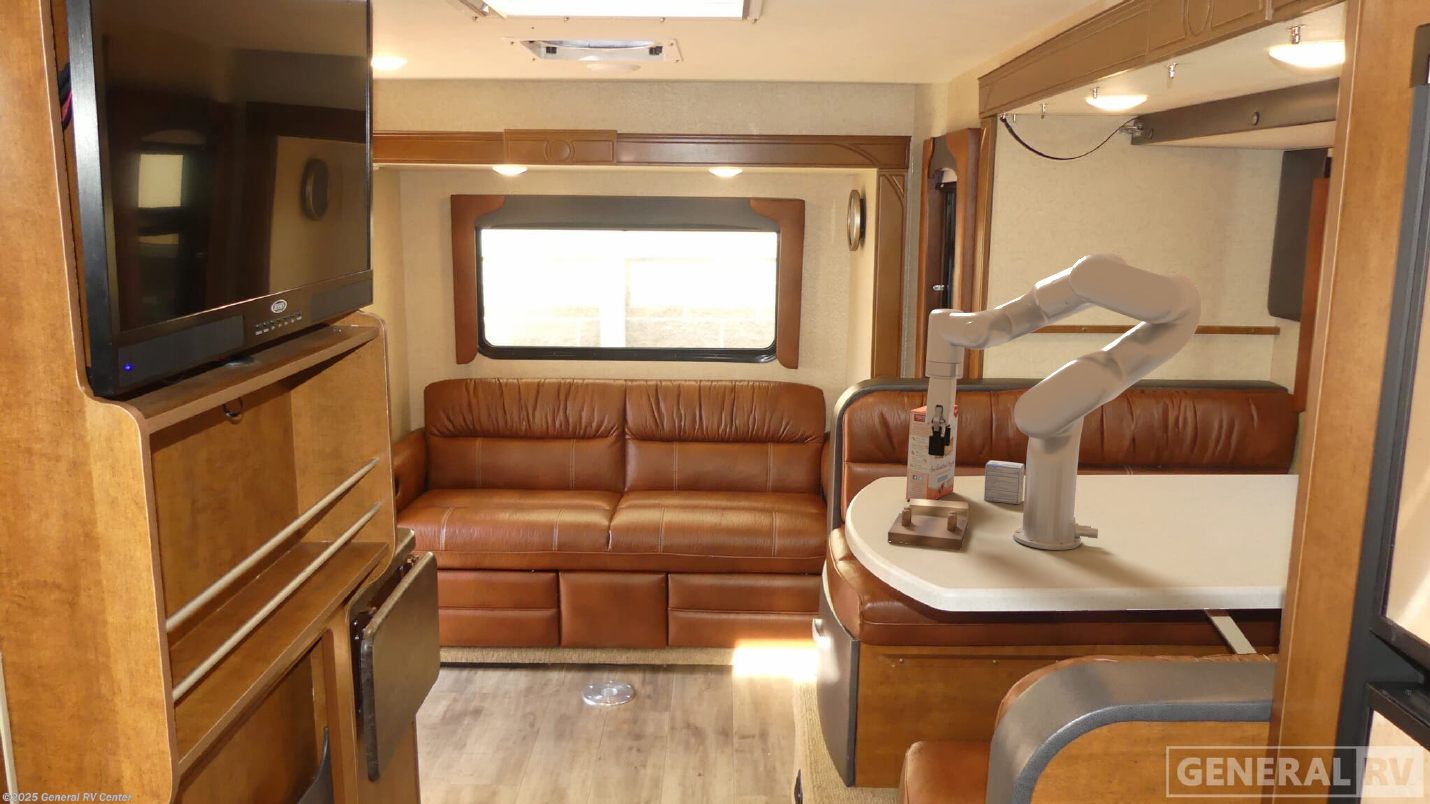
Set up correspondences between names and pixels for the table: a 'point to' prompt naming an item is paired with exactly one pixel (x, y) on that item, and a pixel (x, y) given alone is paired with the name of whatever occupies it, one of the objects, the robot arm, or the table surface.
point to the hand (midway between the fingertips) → (939, 450)
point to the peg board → (928, 530)
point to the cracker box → (929, 460)
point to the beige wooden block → (939, 508)
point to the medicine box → (1004, 482)
